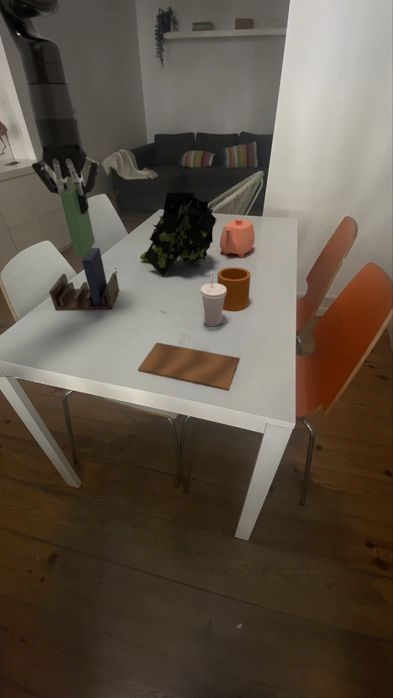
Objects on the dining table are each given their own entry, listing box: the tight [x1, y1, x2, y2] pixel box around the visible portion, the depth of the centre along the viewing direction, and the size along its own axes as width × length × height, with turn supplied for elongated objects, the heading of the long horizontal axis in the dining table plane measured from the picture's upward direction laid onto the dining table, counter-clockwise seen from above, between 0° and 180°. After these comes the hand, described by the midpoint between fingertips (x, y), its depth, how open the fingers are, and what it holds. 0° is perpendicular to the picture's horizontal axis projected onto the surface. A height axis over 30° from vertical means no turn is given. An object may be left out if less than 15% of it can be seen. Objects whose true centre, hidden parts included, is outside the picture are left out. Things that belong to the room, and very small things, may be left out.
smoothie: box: [200, 271, 227, 327], centre depth 79 cm, size 6×6×14 cm
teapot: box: [219, 217, 256, 258], centre depth 117 cm, size 20×12×12 cm, turn 152°
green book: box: [58, 183, 96, 257], centre depth 71 cm, size 2×9×13 cm, turn 2°
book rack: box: [48, 272, 120, 311], centre depth 92 cm, size 16×11×6 cm
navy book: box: [81, 247, 108, 305], centre depth 89 cm, size 2×9×13 cm, turn 1°
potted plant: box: [139, 191, 218, 278], centre depth 104 cm, size 21×22×30 cm
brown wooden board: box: [137, 342, 240, 391], centre depth 69 cm, size 20×10×1 cm, turn 72°
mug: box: [217, 266, 251, 312], centre depth 89 cm, size 9×12×9 cm
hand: (77, 212), depth 70 cm, fingers closed on green book, 2 cm apart
